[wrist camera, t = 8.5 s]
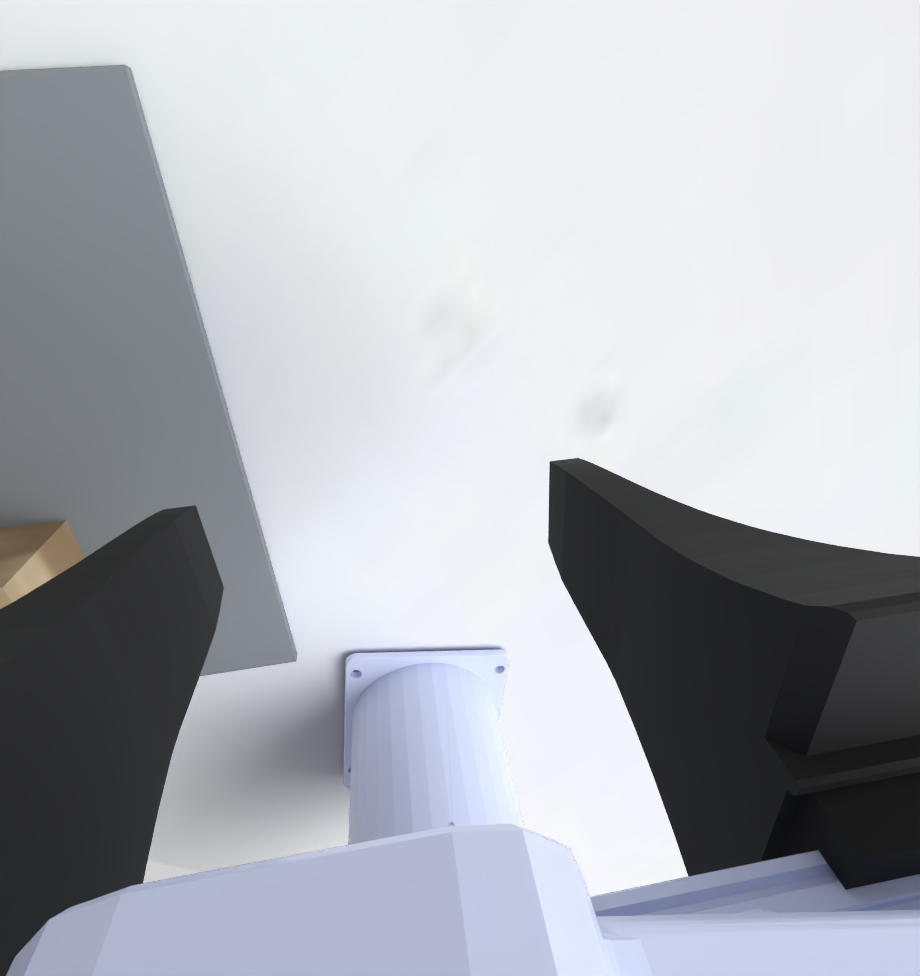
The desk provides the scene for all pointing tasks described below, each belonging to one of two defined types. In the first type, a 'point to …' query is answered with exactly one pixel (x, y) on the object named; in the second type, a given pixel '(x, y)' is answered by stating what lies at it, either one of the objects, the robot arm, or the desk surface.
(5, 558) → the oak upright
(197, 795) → the desk surface
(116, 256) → the slate mat
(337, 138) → the desk surface
